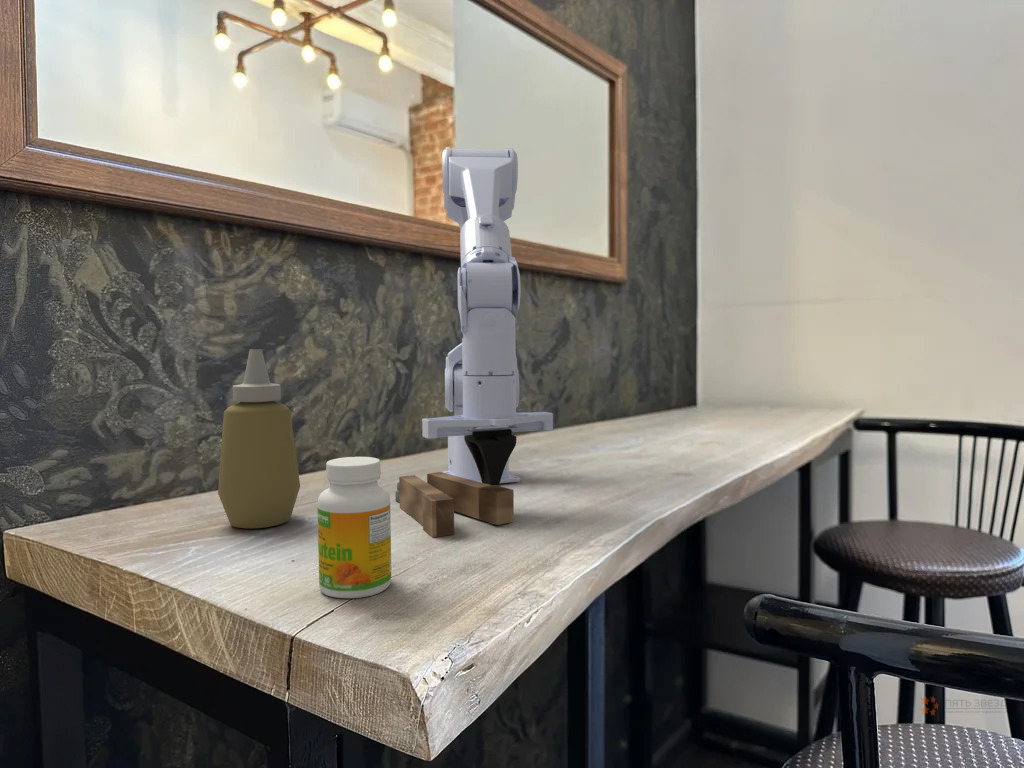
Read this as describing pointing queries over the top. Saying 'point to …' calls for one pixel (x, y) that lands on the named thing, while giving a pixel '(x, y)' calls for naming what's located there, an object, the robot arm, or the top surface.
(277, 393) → the squeeze bottle
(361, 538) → the supplement bottle
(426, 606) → the top surface
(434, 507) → the brown wooden block
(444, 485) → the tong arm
